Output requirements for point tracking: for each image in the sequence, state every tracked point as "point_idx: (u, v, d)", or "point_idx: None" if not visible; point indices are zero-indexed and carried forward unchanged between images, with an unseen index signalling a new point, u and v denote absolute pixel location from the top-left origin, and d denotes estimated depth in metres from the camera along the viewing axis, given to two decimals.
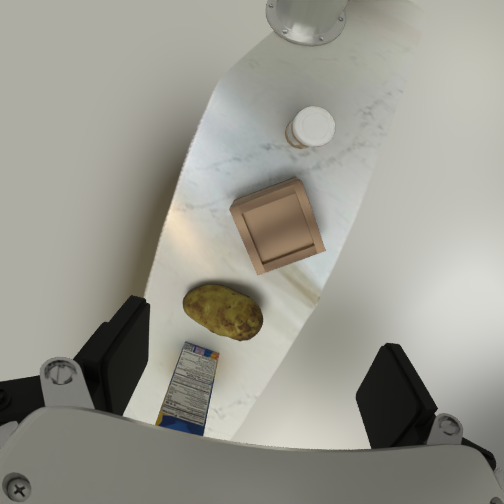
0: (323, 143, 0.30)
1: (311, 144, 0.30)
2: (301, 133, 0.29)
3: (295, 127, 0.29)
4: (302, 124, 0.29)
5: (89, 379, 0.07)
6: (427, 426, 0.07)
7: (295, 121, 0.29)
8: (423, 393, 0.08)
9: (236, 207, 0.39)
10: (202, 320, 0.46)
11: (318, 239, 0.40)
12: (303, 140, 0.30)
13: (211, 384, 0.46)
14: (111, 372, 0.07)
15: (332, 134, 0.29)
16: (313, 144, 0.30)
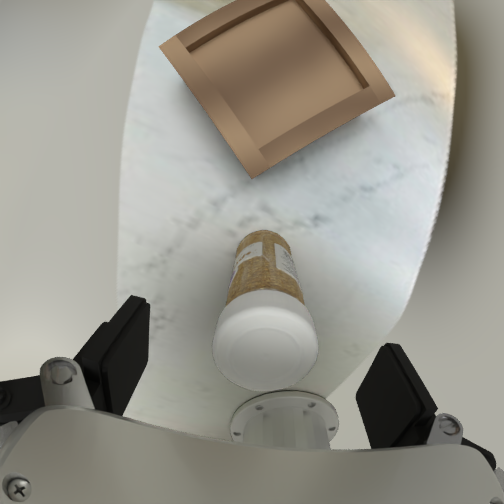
0: (234, 320, 0.11)
1: (266, 311, 0.11)
2: (298, 332, 0.11)
3: (315, 340, 0.12)
4: (299, 352, 0.12)
5: (89, 379, 0.07)
6: (427, 426, 0.07)
7: (316, 352, 0.12)
8: (423, 393, 0.08)
9: (382, 99, 0.14)
10: None
11: (181, 61, 0.14)
12: (290, 316, 0.11)
13: None
14: (111, 372, 0.07)
15: (216, 345, 0.12)
16: (260, 312, 0.11)
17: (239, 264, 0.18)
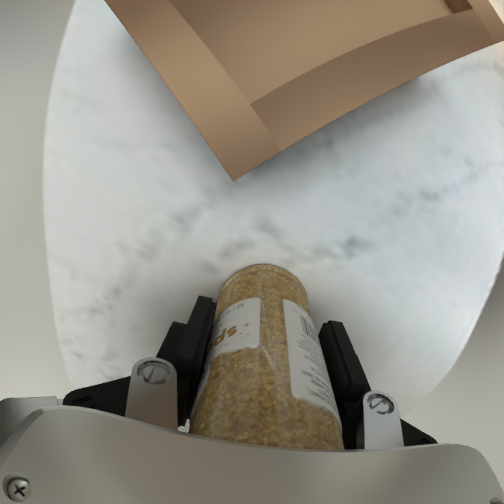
0: None
1: None
2: None
3: None
4: None
5: (177, 376, 0.08)
6: (360, 403, 0.08)
7: None
8: (355, 368, 0.09)
9: (496, 37, 0.04)
10: None
11: None
12: None
13: None
14: (198, 368, 0.08)
15: None
16: None
17: (213, 357, 0.09)
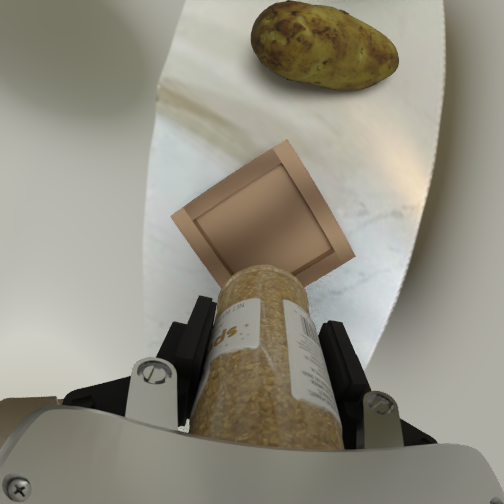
0: None
1: None
2: None
3: None
4: None
5: (177, 376, 0.08)
6: (359, 403, 0.08)
7: None
8: (354, 368, 0.09)
9: (344, 261, 0.22)
10: (366, 31, 0.18)
11: (190, 233, 0.22)
12: None
13: None
14: (198, 368, 0.08)
15: None
16: None
17: (213, 358, 0.09)
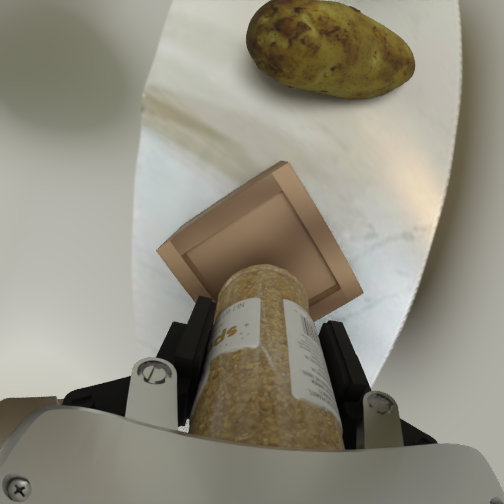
0: None
1: None
2: None
3: None
4: None
5: (177, 376, 0.08)
6: (360, 403, 0.08)
7: None
8: (355, 368, 0.09)
9: (351, 298, 0.19)
10: (380, 32, 0.15)
11: (178, 269, 0.19)
12: None
13: None
14: (198, 368, 0.08)
15: None
16: None
17: (213, 358, 0.08)
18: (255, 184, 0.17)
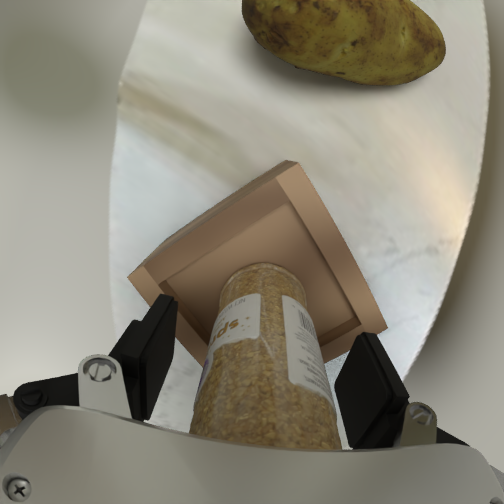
0: None
1: None
2: None
3: None
4: None
5: (126, 375, 0.07)
6: (400, 414, 0.08)
7: None
8: (395, 380, 0.08)
9: None
10: (408, 5, 0.10)
11: None
12: None
13: None
14: (148, 368, 0.08)
15: None
16: None
17: (216, 348, 0.09)
18: (253, 192, 0.13)
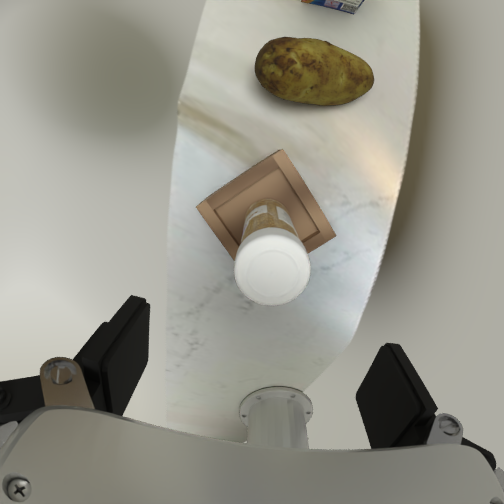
0: (250, 245, 0.17)
1: (273, 237, 0.17)
2: (296, 253, 0.17)
3: (308, 261, 0.17)
4: (297, 270, 0.17)
5: (89, 379, 0.07)
6: (427, 426, 0.07)
7: (309, 271, 0.17)
8: (423, 393, 0.08)
9: (327, 239, 0.29)
10: (346, 58, 0.25)
11: (211, 219, 0.29)
12: (289, 241, 0.17)
13: None
14: (111, 372, 0.07)
15: (237, 266, 0.17)
16: (269, 238, 0.17)
17: (249, 220, 0.23)
18: (262, 163, 0.27)
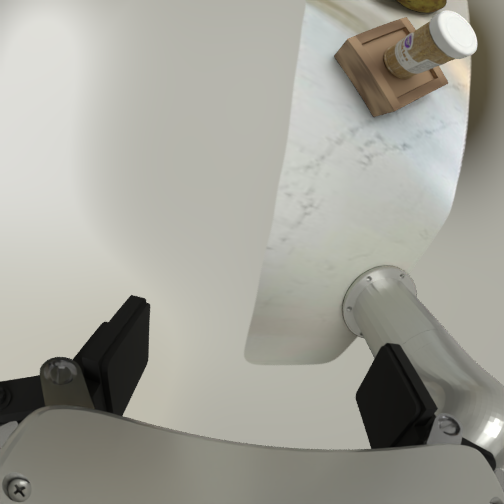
0: (444, 11, 0.14)
1: (454, 12, 0.14)
2: (468, 25, 0.14)
3: None
4: (471, 34, 0.14)
5: (89, 379, 0.07)
6: (427, 426, 0.07)
7: (476, 39, 0.15)
8: (423, 393, 0.08)
9: (443, 84, 0.26)
10: None
11: (360, 50, 0.26)
12: None
13: None
14: (111, 372, 0.07)
15: (440, 20, 0.14)
16: (453, 12, 0.14)
17: (409, 34, 0.21)
18: (394, 21, 0.24)
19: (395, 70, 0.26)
